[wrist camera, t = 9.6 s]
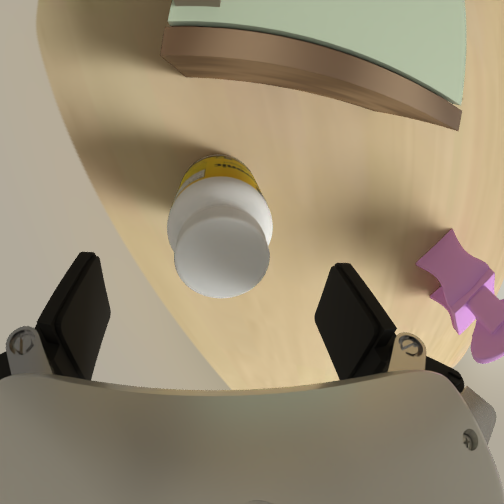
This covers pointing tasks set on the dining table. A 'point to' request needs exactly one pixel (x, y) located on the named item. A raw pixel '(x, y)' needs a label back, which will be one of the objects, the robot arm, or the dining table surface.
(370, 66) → the box
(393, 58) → the lid
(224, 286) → the supplement bottle
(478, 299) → the toy chair
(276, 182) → the dining table surface
